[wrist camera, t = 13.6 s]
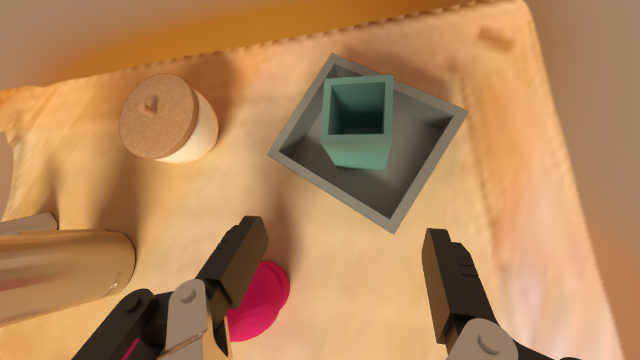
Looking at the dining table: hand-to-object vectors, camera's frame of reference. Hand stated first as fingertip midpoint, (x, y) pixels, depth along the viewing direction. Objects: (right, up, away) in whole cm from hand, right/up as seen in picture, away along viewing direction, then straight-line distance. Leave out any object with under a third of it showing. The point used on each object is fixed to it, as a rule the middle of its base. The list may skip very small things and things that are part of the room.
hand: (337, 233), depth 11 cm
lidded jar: (-19, +9, +24) cm, 32 cm away
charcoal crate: (+4, +7, +18) cm, 20 cm away
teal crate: (+4, +7, +17) cm, 19 cm away
